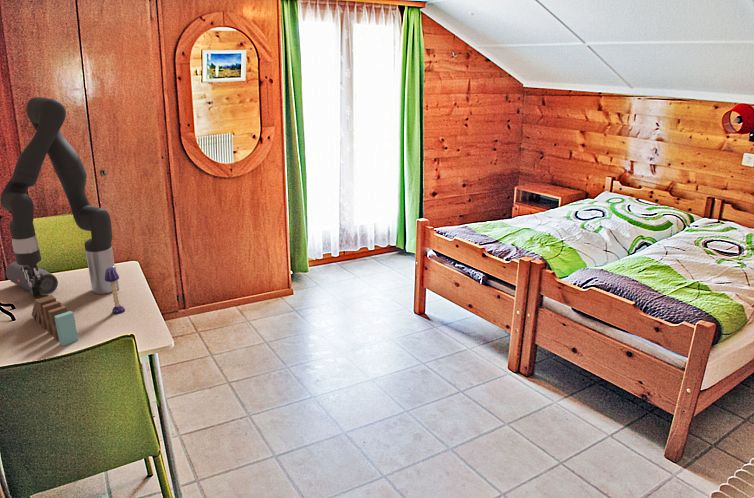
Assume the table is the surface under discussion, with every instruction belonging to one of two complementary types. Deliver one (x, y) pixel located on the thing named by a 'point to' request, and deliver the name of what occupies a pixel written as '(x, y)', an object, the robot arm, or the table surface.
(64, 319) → the domino
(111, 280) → the toy lamp
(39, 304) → the domino
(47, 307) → the domino
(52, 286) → the bluetooth speaker
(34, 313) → the domino
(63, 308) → the domino
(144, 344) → the table surface
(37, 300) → the domino
